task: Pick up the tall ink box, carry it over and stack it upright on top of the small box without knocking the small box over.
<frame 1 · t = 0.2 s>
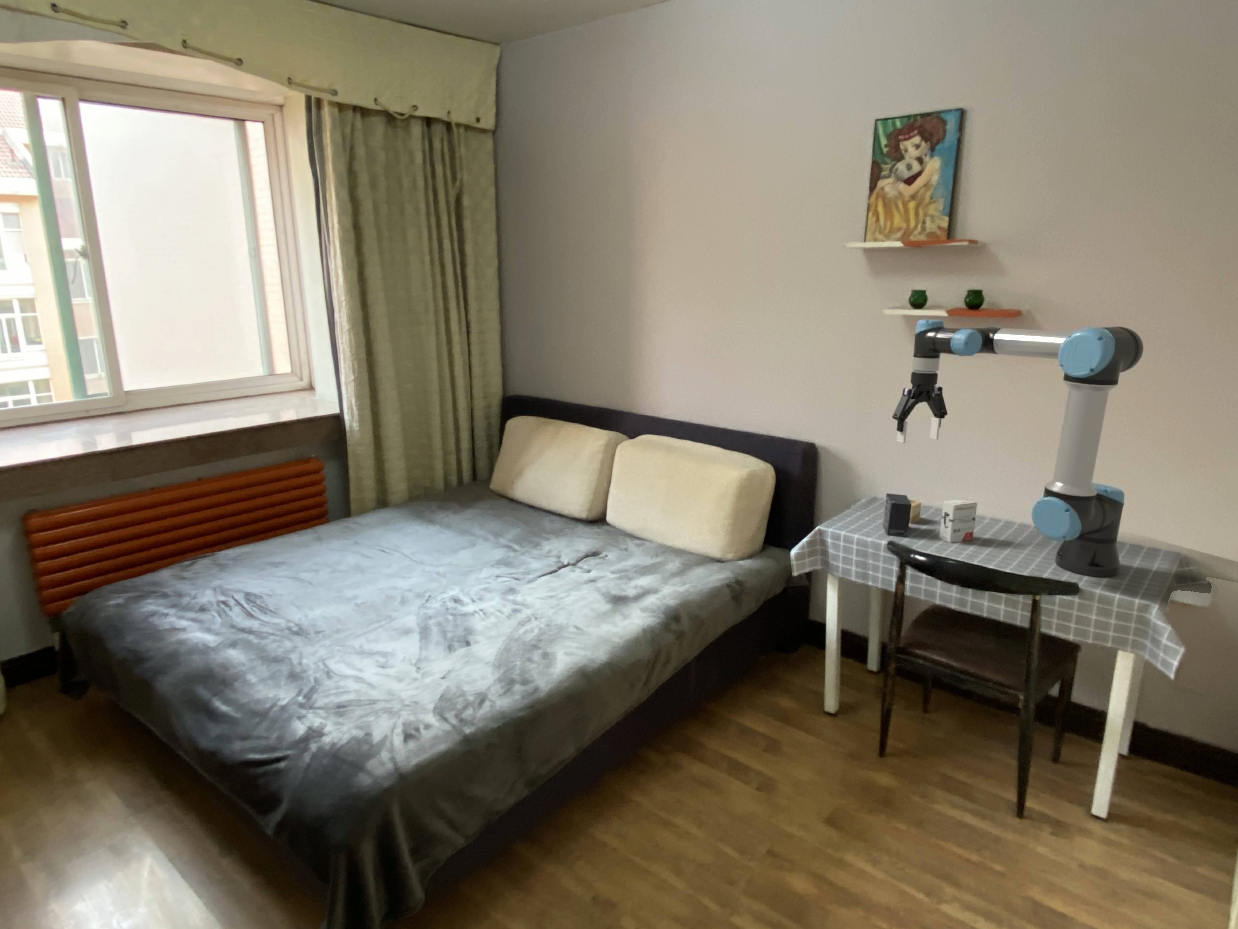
hand: (917, 440, 236), 27 cm above the table, fingers open, 13 cm apart
ink box: (955, 539, 229), on the table
small box: (895, 531, 236), on the table
oak cube: (906, 519, 247), on the table
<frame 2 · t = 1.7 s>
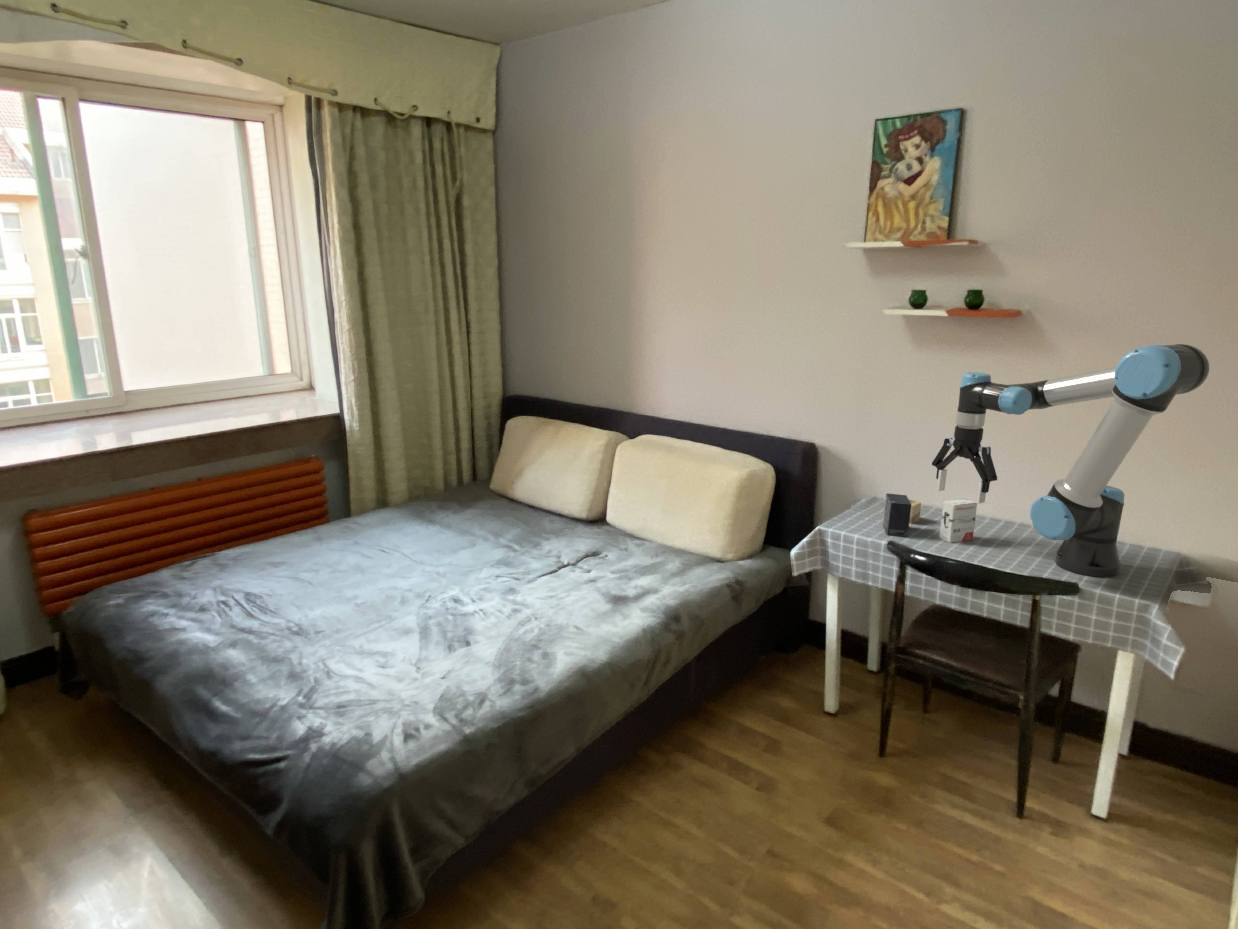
hand: (959, 496, 226), 13 cm above the table, fingers open, 13 cm apart
nothing on the table moved.
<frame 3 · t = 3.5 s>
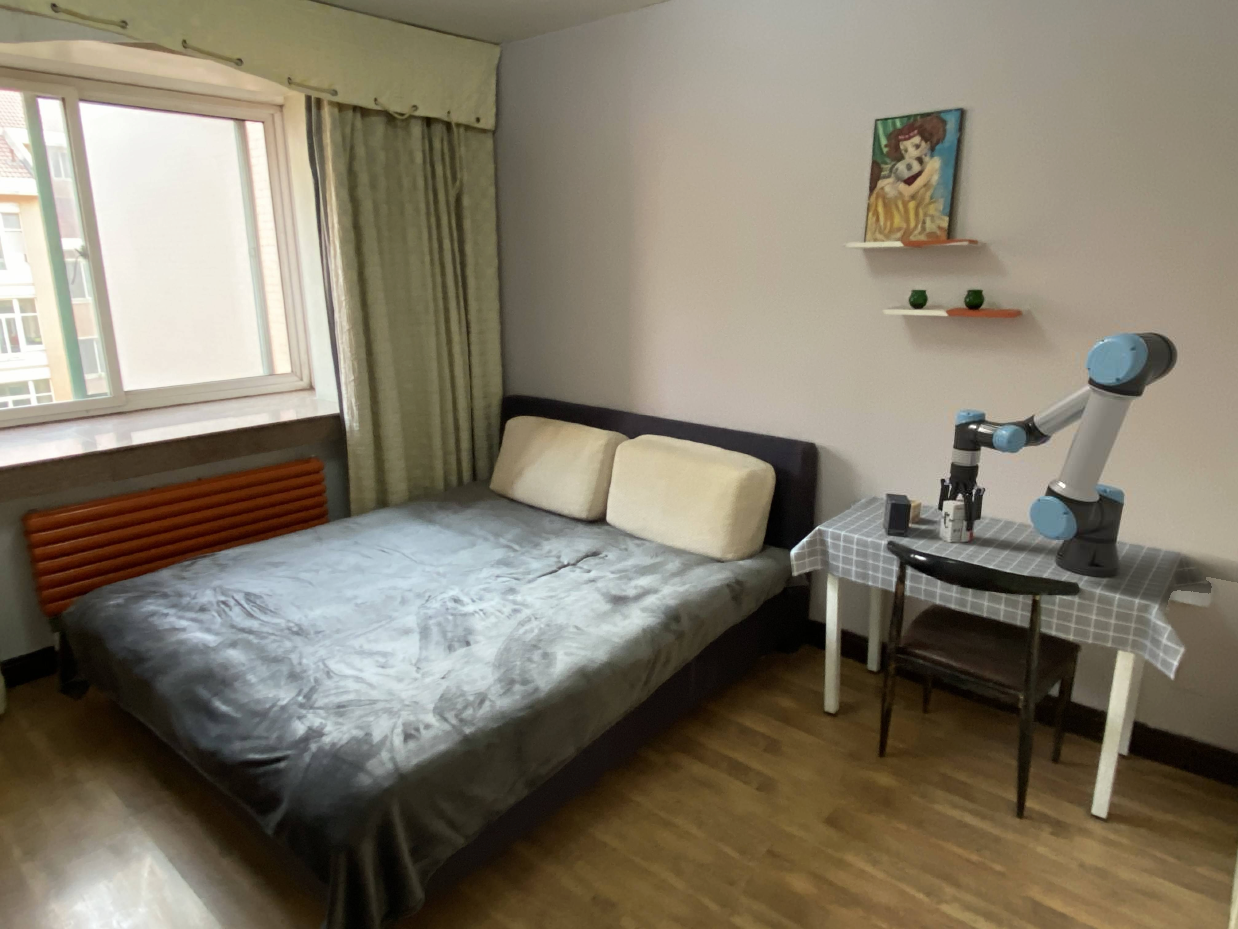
hand: (955, 537, 229), 0 cm above the table, fingers closed on ink box, 5 cm apart
ink box: (955, 539, 229), on the table, touching gripper
everything else where it was.
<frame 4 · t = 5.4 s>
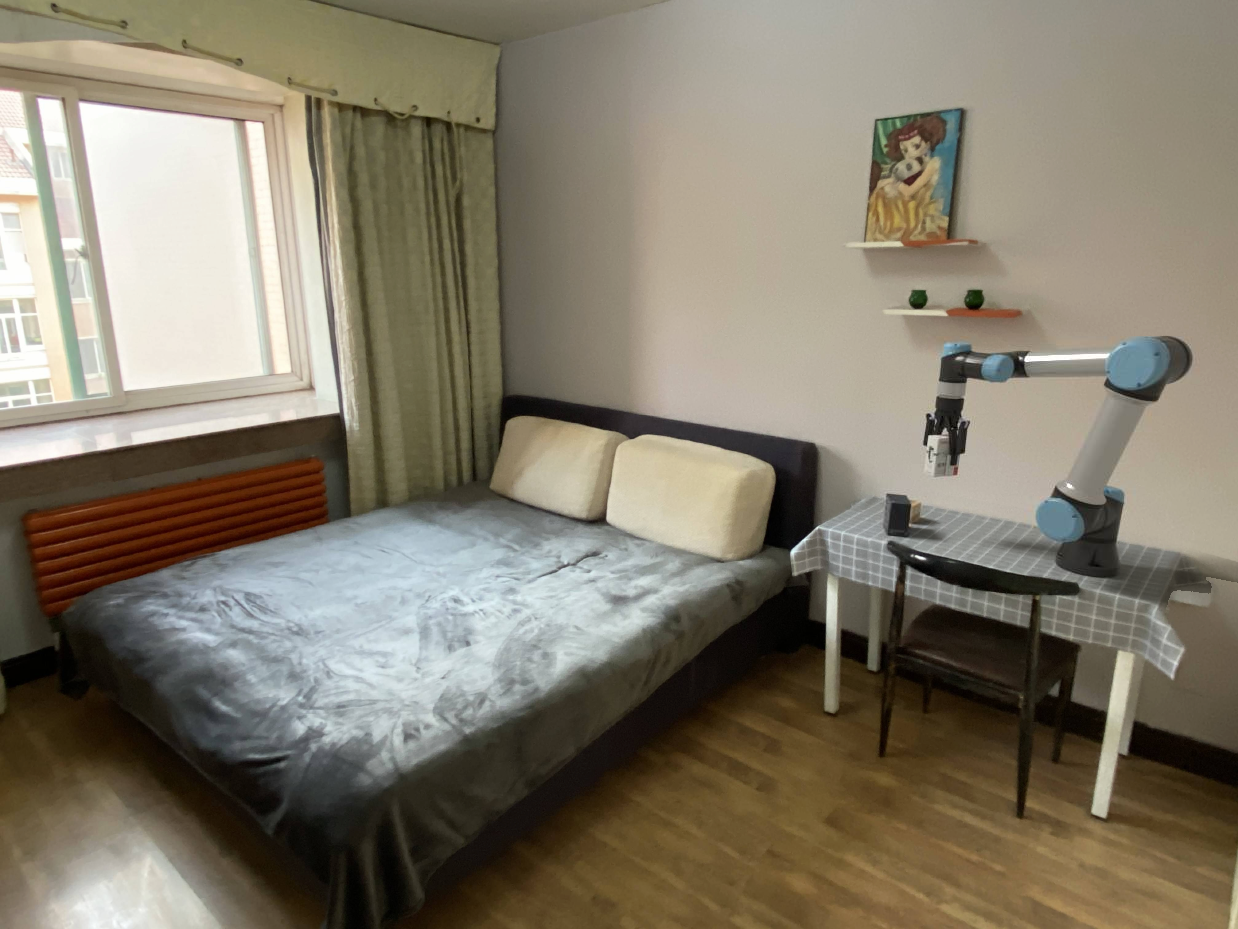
hand: (940, 473, 227), 20 cm above the table, fingers closed on ink box, 5 cm apart
ink box: (940, 474, 228), point 19 cm above the table, touching gripper
everything else where it was.
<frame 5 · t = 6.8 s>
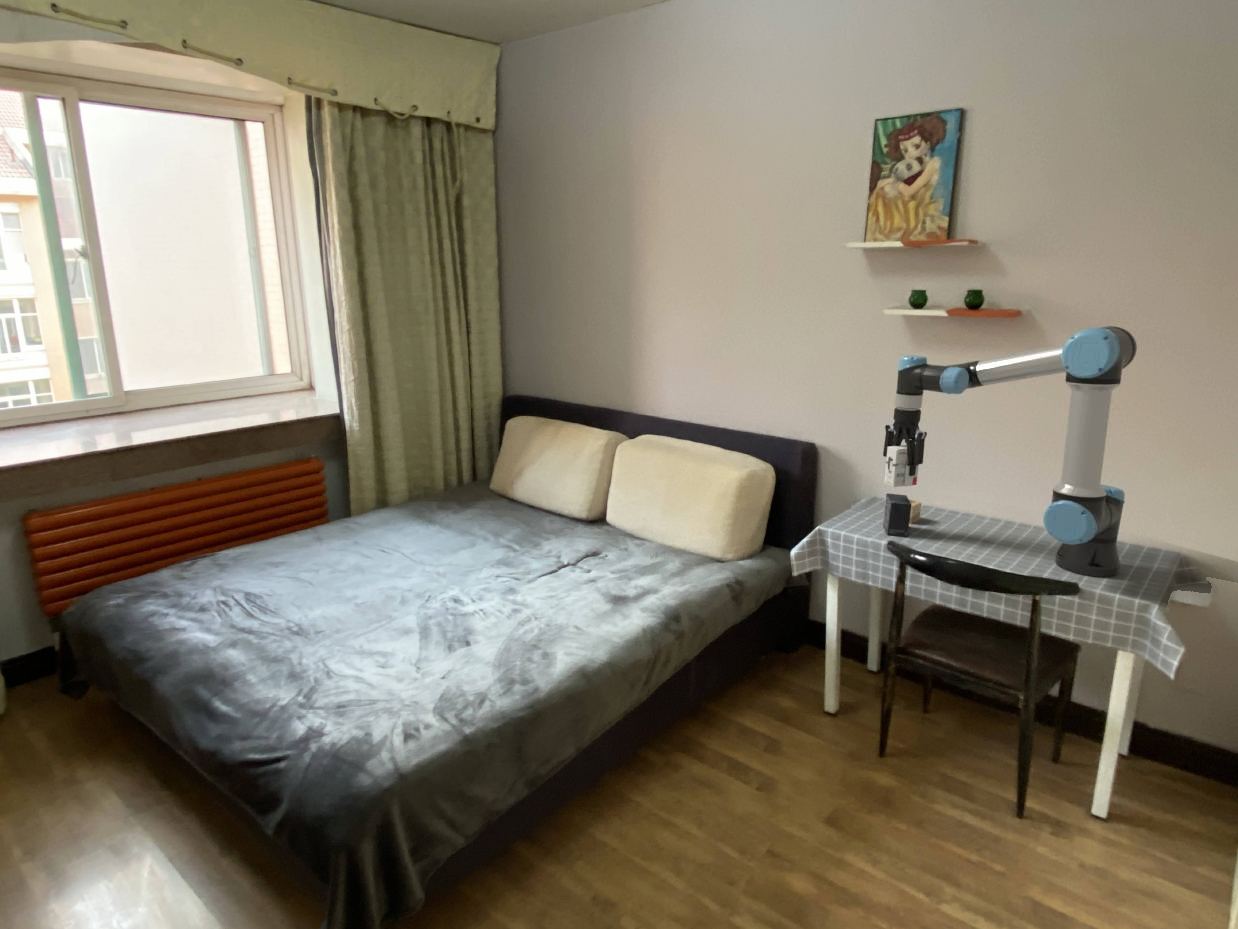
hand: (899, 483, 232), 15 cm above the table, fingers closed on ink box, 5 cm apart
ink box: (899, 484, 233), point 15 cm above the table, touching gripper
everything else where it was.
when the fingers open (11 cm above the table, at t = 7.7 s): ink box stays where it is, resting on small box.
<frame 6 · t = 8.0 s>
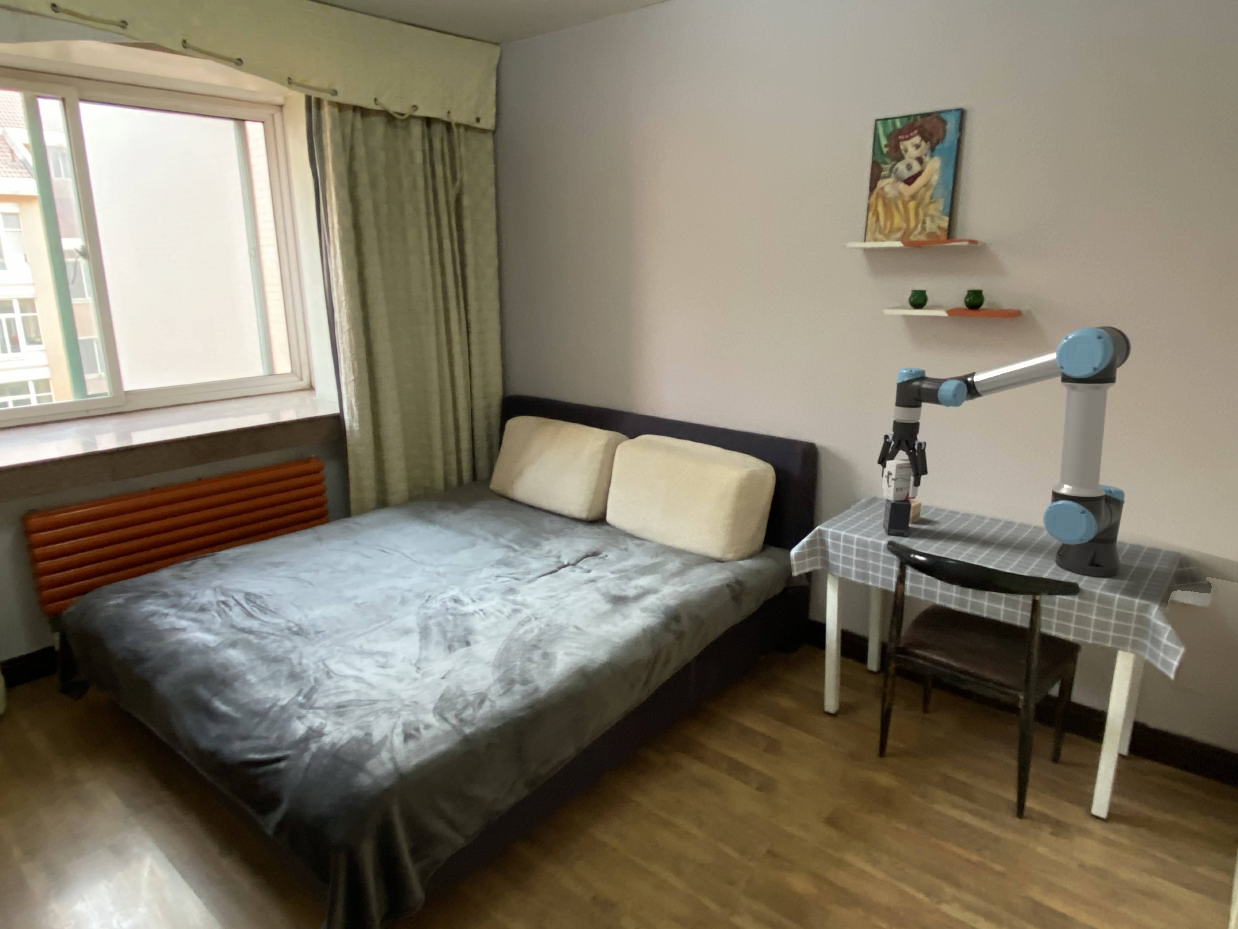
hand: (899, 492, 233), 12 cm above the table, fingers open, 9 cm apart
ink box: (898, 498, 234), point 10 cm above the table, touching small box
small box: (895, 531, 236), on the table, touching ink box
everything else where it was.
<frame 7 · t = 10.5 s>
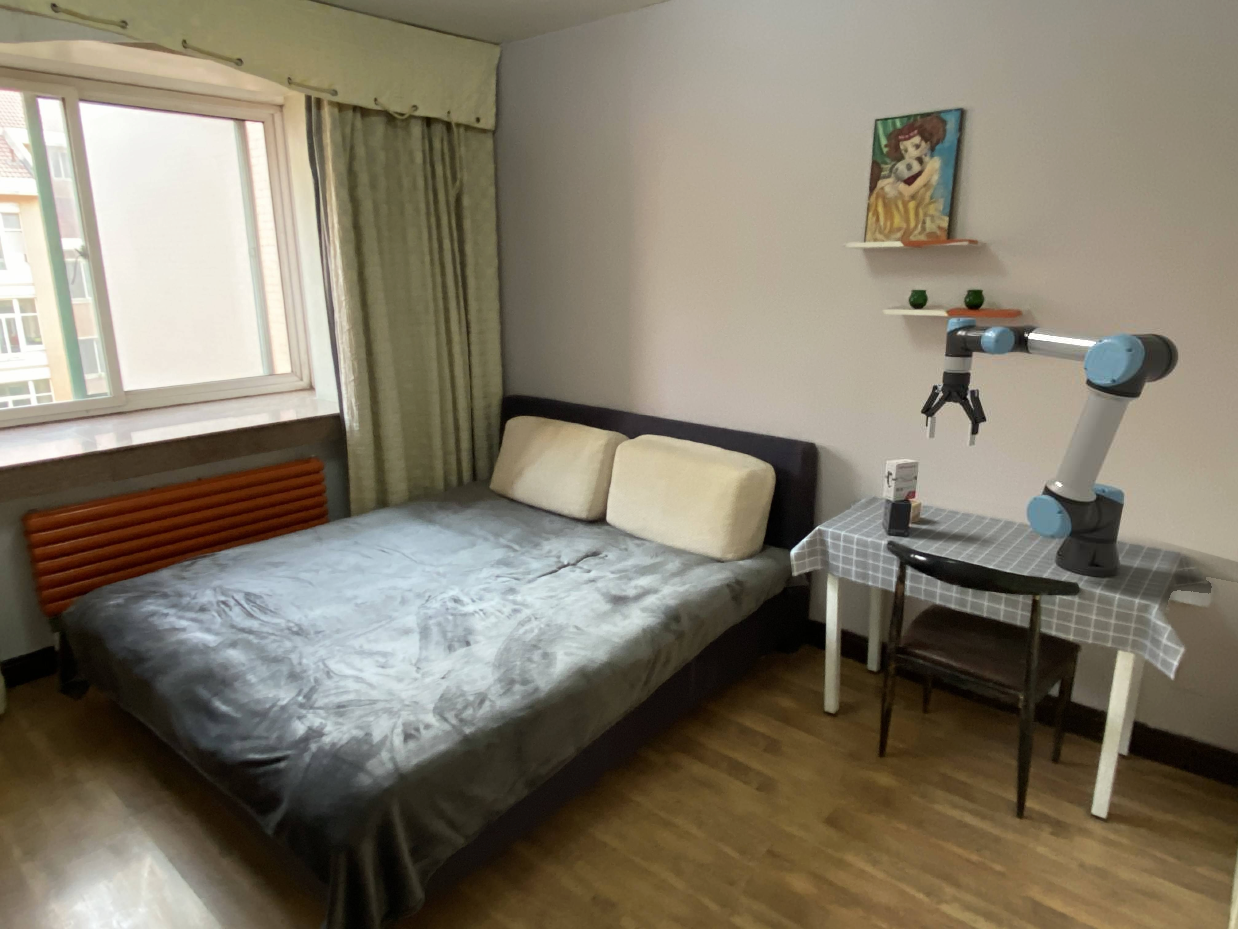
hand: (949, 441, 230), 28 cm above the table, fingers open, 13 cm apart
nothing on the table moved.
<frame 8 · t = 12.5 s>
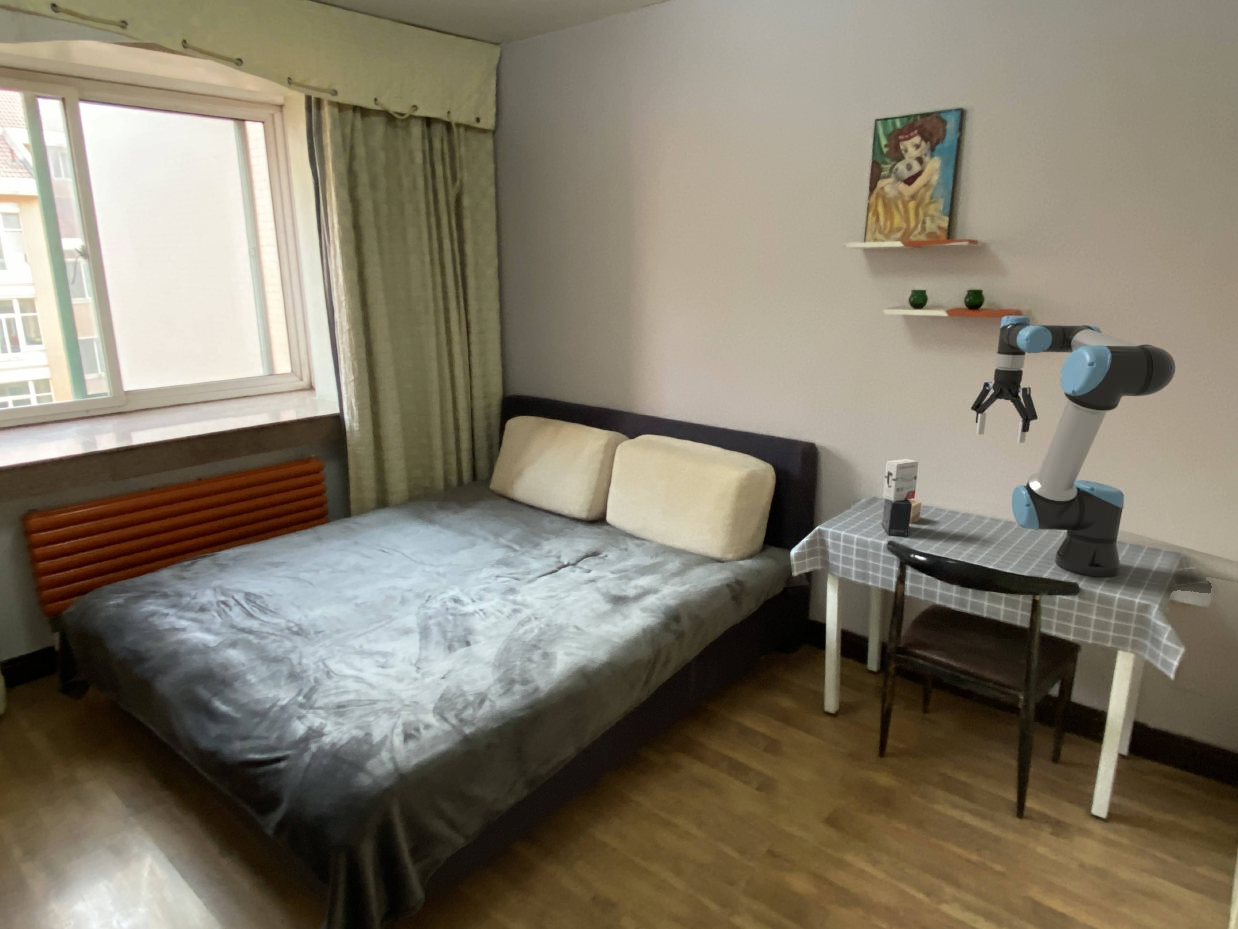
hand: (999, 438, 233), 29 cm above the table, fingers open, 13 cm apart
nothing on the table moved.
at the end: ink box inside the target area on the small box (0.1 cm from its centre), point 10.5 cm above the small box's base; ink box tilted 0°; the gripper is holding nothing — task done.
